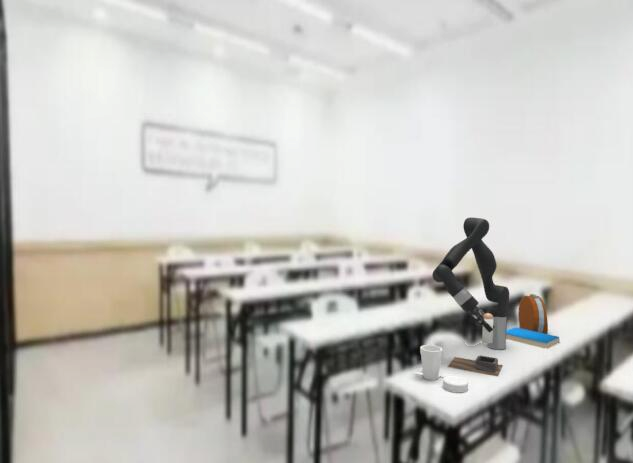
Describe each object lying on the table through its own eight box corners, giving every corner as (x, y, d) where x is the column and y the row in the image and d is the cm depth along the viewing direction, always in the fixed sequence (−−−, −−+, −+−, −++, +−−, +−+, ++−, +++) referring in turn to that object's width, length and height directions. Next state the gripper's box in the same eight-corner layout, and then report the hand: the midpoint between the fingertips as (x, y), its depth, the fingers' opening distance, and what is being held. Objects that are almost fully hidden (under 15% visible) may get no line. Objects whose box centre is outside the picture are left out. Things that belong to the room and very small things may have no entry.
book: (546, 342, 238) (501, 331, 257) (546, 350, 238) (501, 338, 257) (559, 336, 249) (515, 326, 268) (559, 344, 249) (515, 333, 268)
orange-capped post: (483, 339, 208) (484, 311, 207) (493, 341, 206) (494, 312, 205) (481, 342, 204) (482, 313, 203) (491, 343, 202) (492, 314, 201)
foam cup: (438, 373, 202) (438, 344, 201) (444, 381, 193) (445, 351, 192) (417, 373, 202) (417, 344, 201) (422, 381, 193) (423, 351, 192)
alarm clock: (550, 337, 260) (552, 298, 258) (533, 336, 260) (535, 298, 259) (533, 326, 282) (534, 291, 280) (517, 326, 282) (518, 290, 281)
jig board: (454, 359, 221) (455, 348, 220) (502, 367, 210) (503, 356, 210) (446, 369, 207) (447, 358, 206) (497, 379, 196) (498, 367, 196)
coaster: (457, 395, 179) (458, 386, 179) (437, 387, 188) (438, 378, 187) (473, 389, 185) (473, 381, 185) (453, 381, 193) (453, 373, 193)
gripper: (468, 298, 201) (496, 328, 196) (474, 292, 214) (500, 321, 208) (456, 308, 204) (483, 338, 199) (462, 302, 217) (488, 330, 211)
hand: (492, 329), depth 204 cm, fingers closed on orange-capped post, 4 cm apart
